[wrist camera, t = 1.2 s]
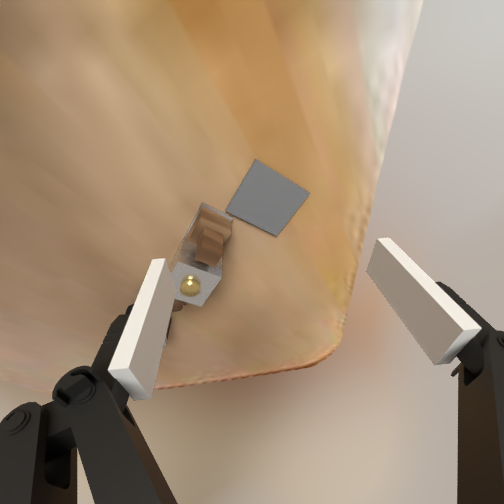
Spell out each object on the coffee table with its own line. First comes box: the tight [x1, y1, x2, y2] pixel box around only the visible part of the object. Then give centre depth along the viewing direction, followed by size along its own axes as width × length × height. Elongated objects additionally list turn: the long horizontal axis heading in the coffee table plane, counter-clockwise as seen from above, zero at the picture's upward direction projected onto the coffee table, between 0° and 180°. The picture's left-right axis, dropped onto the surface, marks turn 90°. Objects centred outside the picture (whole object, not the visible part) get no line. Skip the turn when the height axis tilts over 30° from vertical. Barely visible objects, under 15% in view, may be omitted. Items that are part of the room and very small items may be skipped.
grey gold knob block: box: [169, 240, 222, 307], centre depth 35 cm, size 6×7×6 cm
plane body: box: [172, 203, 233, 312], centre depth 38 cm, size 19×5×10 cm, turn 148°
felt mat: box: [226, 159, 310, 236], centre depth 37 cm, size 10×9×1 cm
